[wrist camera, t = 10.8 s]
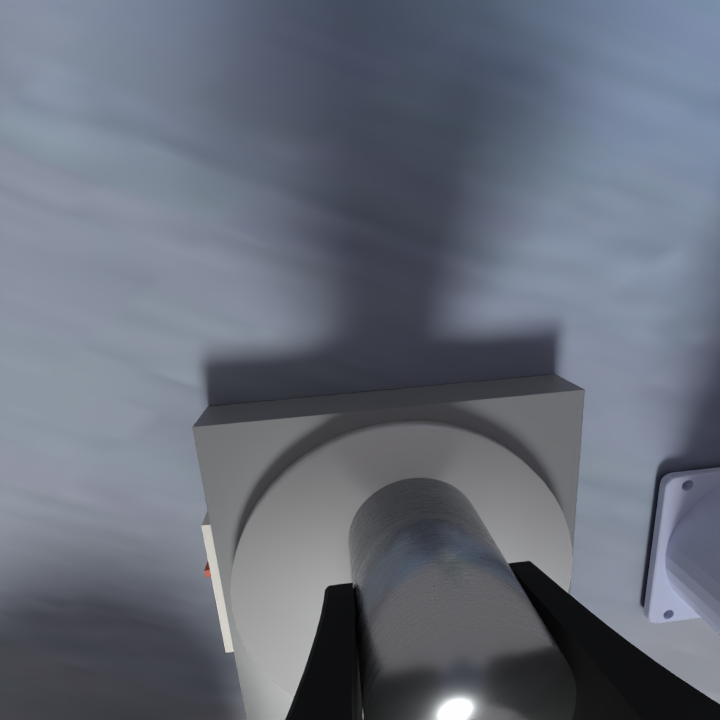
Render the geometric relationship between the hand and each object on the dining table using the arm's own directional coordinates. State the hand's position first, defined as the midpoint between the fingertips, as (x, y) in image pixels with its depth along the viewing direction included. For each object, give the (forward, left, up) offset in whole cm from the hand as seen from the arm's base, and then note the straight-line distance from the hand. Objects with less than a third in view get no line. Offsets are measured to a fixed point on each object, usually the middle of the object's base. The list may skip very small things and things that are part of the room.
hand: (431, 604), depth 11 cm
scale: (0, +4, -7) cm, 8 cm away
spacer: (0, 0, -2) cm, 2 cm away
